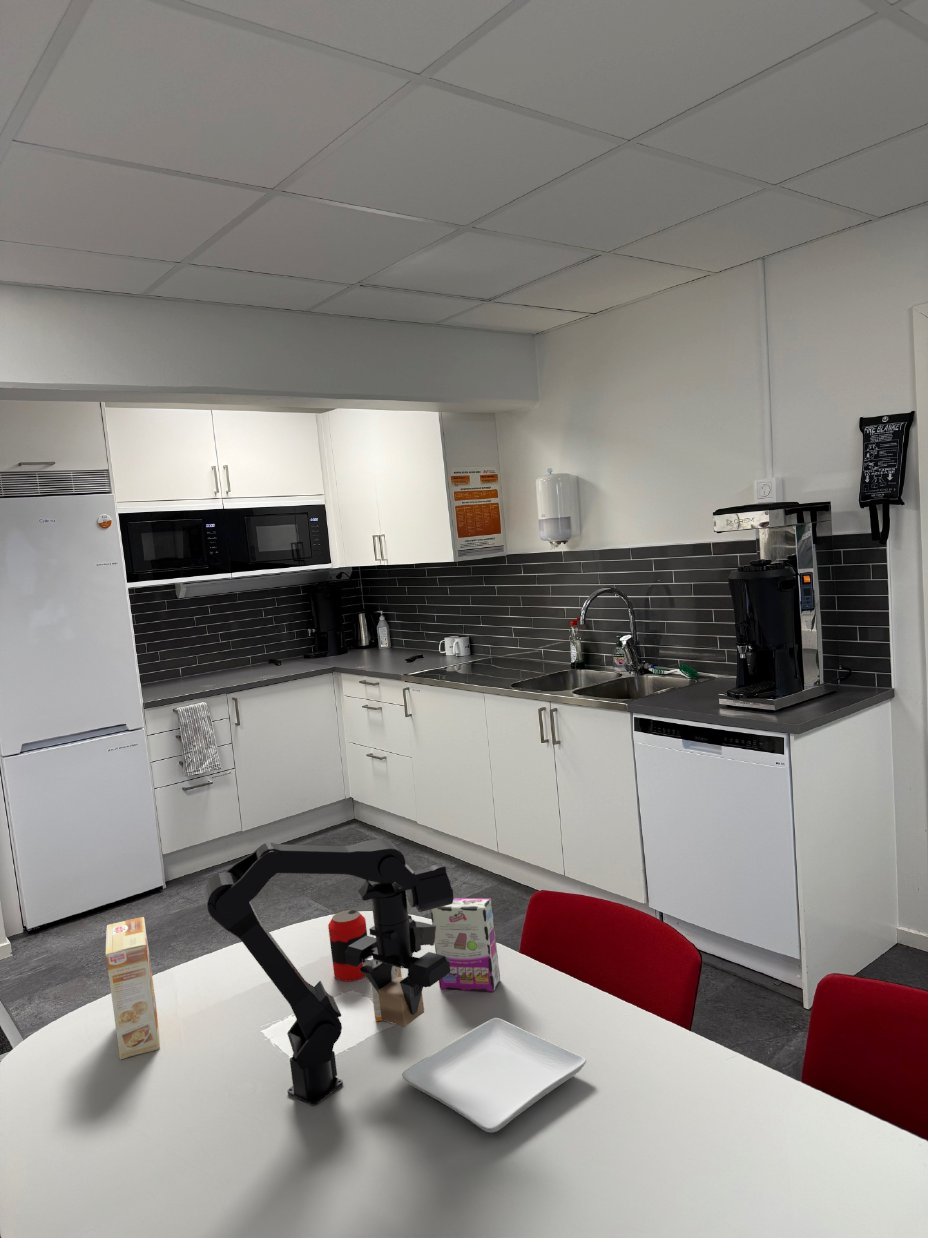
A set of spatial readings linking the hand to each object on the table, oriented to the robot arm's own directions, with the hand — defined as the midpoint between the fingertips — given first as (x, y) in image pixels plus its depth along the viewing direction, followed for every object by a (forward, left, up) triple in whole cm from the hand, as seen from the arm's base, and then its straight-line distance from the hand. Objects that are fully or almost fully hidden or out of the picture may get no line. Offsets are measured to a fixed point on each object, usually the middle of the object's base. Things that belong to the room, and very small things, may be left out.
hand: (402, 1009), depth 142 cm
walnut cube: (0, 0, -1) cm, 1 cm away
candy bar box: (+25, +6, -9) cm, 27 cm away
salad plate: (+2, -16, -9) cm, 19 cm away
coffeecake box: (-18, +51, -9) cm, 55 cm away
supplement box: (+11, +14, -9) cm, 20 cm away
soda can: (+18, +31, -9) cm, 37 cm away
